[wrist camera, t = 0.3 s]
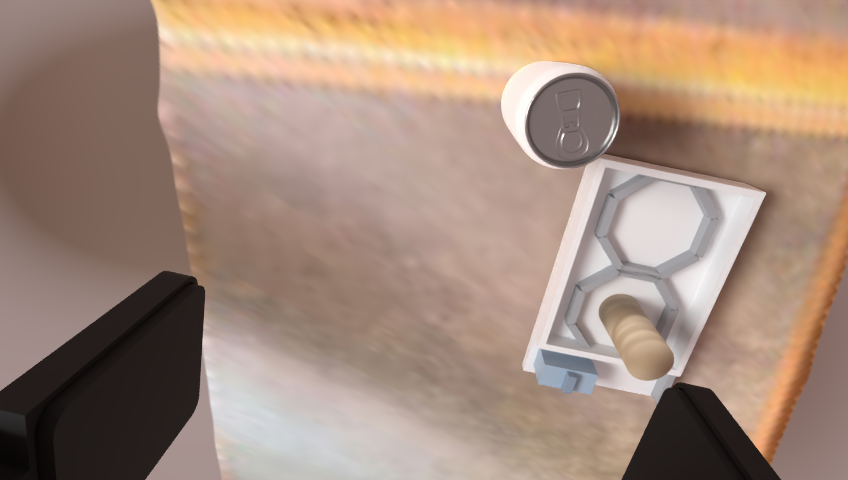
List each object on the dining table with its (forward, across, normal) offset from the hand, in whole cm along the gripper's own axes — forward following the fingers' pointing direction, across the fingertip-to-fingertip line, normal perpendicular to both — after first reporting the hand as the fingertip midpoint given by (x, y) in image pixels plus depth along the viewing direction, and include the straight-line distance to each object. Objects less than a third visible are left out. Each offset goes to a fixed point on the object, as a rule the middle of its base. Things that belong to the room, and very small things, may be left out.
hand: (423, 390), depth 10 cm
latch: (+33, -16, +19) cm, 41 cm away
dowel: (+33, -19, +12) cm, 40 cm away
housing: (+34, -19, +10) cm, 41 cm away
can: (+34, -7, -4) cm, 35 cm away
